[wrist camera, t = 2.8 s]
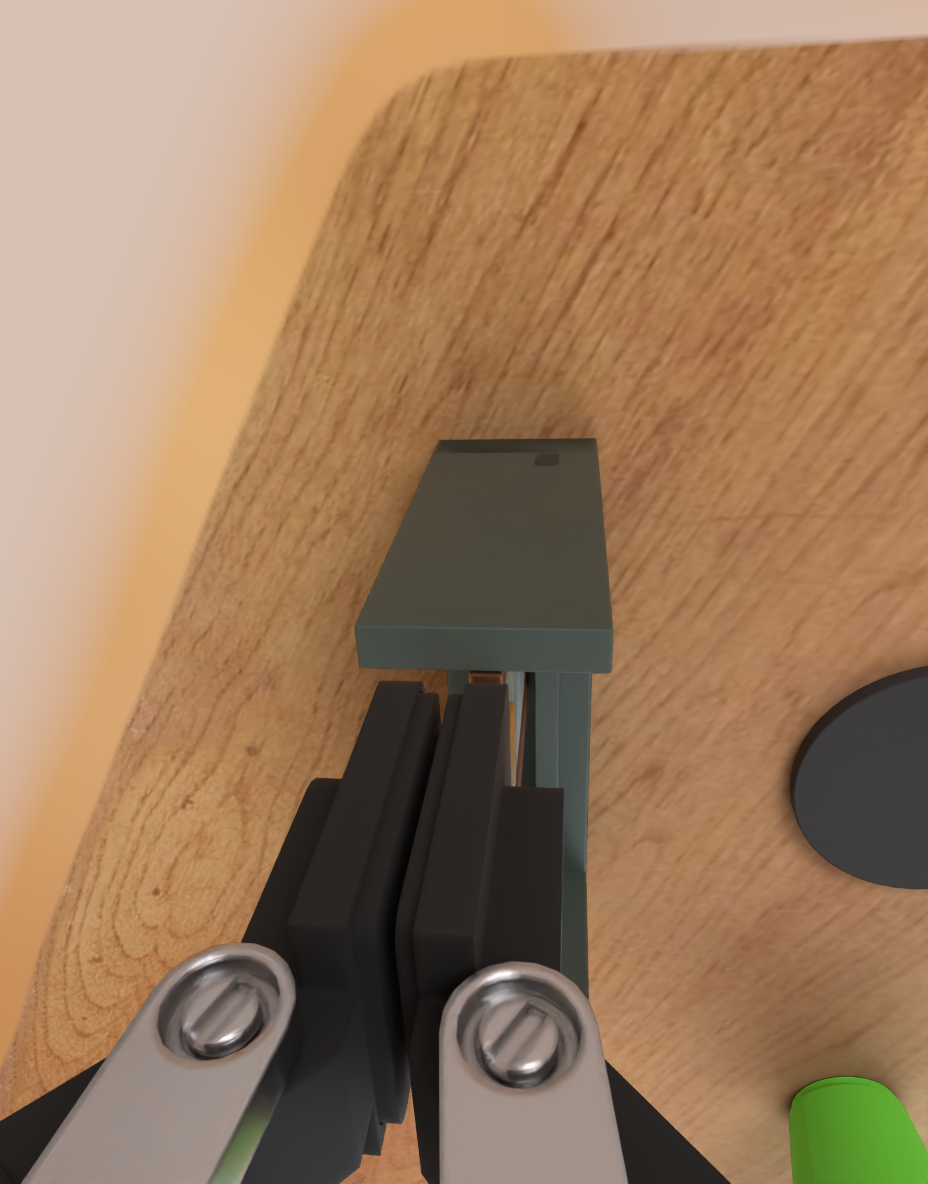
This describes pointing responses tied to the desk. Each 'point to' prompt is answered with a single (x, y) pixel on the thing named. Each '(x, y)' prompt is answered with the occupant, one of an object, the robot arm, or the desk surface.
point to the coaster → (869, 783)
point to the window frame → (509, 610)
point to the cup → (854, 1135)
